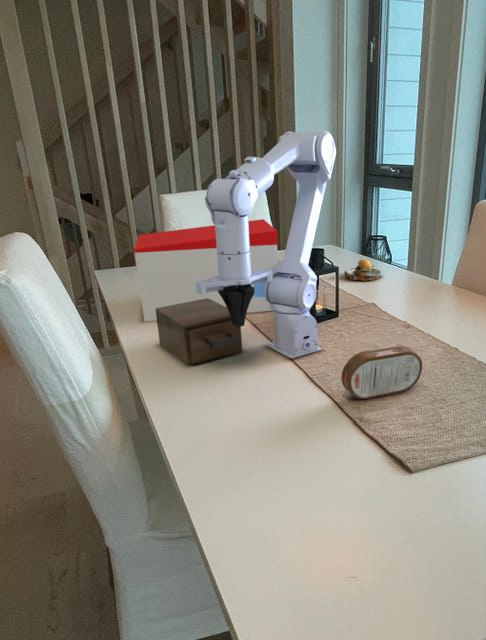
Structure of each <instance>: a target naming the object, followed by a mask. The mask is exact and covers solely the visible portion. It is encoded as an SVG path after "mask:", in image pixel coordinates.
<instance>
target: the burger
mask: <svg viewBox="0 0 486 640" xmlns="http://www.w3.org/2000/svg"><path fill="white" fill-rule="evenodd" d="M367 258H368V256H367V257H366V258H362V259H360V260H359V261H358V262H357V266H356V267H354V268H349V269H346V270H345V271H344V273H343V274H344V279H346V280H348V279H350V280H351V281H357V280H358V281H359V280H361V281H362V282H365V281H366V282H367V281H368V280H369V281H376V280H378V279H380V278H381V277H382V276H381V273H382V272H381V270H379V269H377V268H374V267H375V265H373V264H372V263H371V262H370V260H368V259H367Z"/></svg>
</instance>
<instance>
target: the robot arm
mask: <svg viewBox="0 0 486 640" xmlns="http://www.w3.org/2000/svg"><path fill="white" fill-rule="evenodd" d="M336 154H337V149H336V144H335V141H334V138H333V136H332V134H331V133H330V132H329V131H328V130H322V131H300V132H297V131H295V132H293V131H286V132H284V134H282V135H280V136H279V138H278V143H276V144H275V146H273V147H272V148H271V149H270V150H269V151H267V153H266V154H264V155H263V156H262V157H258V156H247V157H246V158H244V163H242V165H240V166H239V167H237V168H236V169H231V170H230V171H229V173H228V175H227V176H226V177H225V178H215V179H214V180H213V181H212V182H211V183H210V184H209V185H208V187H207V189H206V195H205V196H204V203H205V206H206V208H207V210H208V211H209V212H210V218H211V222H212V224H213V225H215V233H216V246H217V258H218V271H219V275H218V276H215V277H212V278H209V279H206V280H202V281H197V282H196V292H197V293H199V294H201V295H204V294H207V293H208V292H213V291H218V293H219V294H220V296H221V297H222V299H223V301H224V302H225V304H226V306H227V309H228V311H229V314H230V317H231V320H232V324H233V325H234V326H236V327H241V328H242V327H244V326H245V323H246V317H247V314H248V313H247V309H248V306H249V304H250V301H251V299H252V297H253V295H254V294H255V288H254V287H251V284H255V283H260V282H265V281H266V284H265V288H264V294H265V298H266V300H267V302H268V303H270V304H271V308H272V309H274V311H273V326H274V327H273V328H274V329H273V330H274V341H272V342H268V343H267V344H266V347H268V348H270V349H272V350H274V351H276V352H277V353H280V354H281V355H283V356H285V357H287V358H289V359H296V358H299V357H303V356H305V355H306V356H307V355H308V354H312V353H315V352H318V351H319V352H320V351H321V347H320V346H318V322H317V319H316V318H315V317H314V316H313V315H312V314H311V313H310V311H309V310H310V309H311V308H312V307H313V305H314V303H315V301H316V298H317V280H318V277H317V275H316V273H315V272H314V271H313V270H312V268H311V267H310V266H309V263H310V258H311V253H312V249H313V246H314V240H315V236H316V231H317V226H318V223H319V219H320V214H321V209H322V204H323V201H324V196H325V191H326V187H327V182H328V181H329V180H331V177H332V172H333V168H334V163H335V160H336ZM284 169H287V171H288V172H289V175H290V176H291V177H292V179H293V180H294V181H296V182H298V184H299V185H298V186H299V188H298V193H297V197H296V198H297V199H296V202H295V206H294V210H293V215H292V219H291V224H290V228H289V233H288V238H287V242H286V247H285V250H284V255H283V259H282V260H281V261H279V262H278V264H277V265H275V266H274V267H273V268H272V270H271V271H270V270H267V269H265V270H257V271H251V263H250V245H249V225H248V221H249V215H250V214H251V213H252V211H253V209H254V207H255V204H256V201H257V200H258V198H259V197H260V196H261V195H262V194H263V193H264V192H265V191H267V190H268V189H269V188H270V187H271V186H272V185H273V183H274V180H275V175H276V174H278V173H279V172H281V171H282V170H284Z"/></svg>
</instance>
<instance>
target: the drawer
mask: <svg viewBox="0 0 486 640" xmlns="http://www.w3.org/2000/svg"><path fill="white" fill-rule="evenodd" d="M187 335H188V344H189V353H190V362H192V363H196V362H200V361H203V360H207V359H211V358H214V357H218V356H222V355H225V354H229V353H233V352H237V351H240V350H242V351H243V341H242V339H243V338H242V326H241V327H236V326H234V325H233V324H232V320H231V319H229V320H225V321H220V322H216V323H212V324H207V325H205V326H202V327H198V328H193V329H191V328H190V329H188V330H187Z"/></svg>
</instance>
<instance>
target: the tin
mask: <svg viewBox="0 0 486 640" xmlns="http://www.w3.org/2000/svg"><path fill="white" fill-rule="evenodd" d="M422 371H423V360H422V358H421V357H420V355H419V354H418V353H416V351H414V350H413V348H411V347H409V346H406V345H397V346H390V347H385V348H384V347H383V348H378V349H369V350H365V351H360V352H358V353H356V354H354V355H353V356H352V357H350V358H349V359H348V360H347V361H346V363H345V364H344V366H343V368H342V372H341V377H340V379H341V384H342V386H343V388H344V389H345V390H346V391H347V392H348V393H349V394H350V395H352V396H353V397H354V398H356V399H360V400H368V399H374V398H378V397H385V396H390V395H395V394H401V393H404V392H406V391H409V390H410V389H411V388H413V387H414V386H415V385H416V384H417V383H418V381H419V380H420V378H421V375H422Z"/></svg>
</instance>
